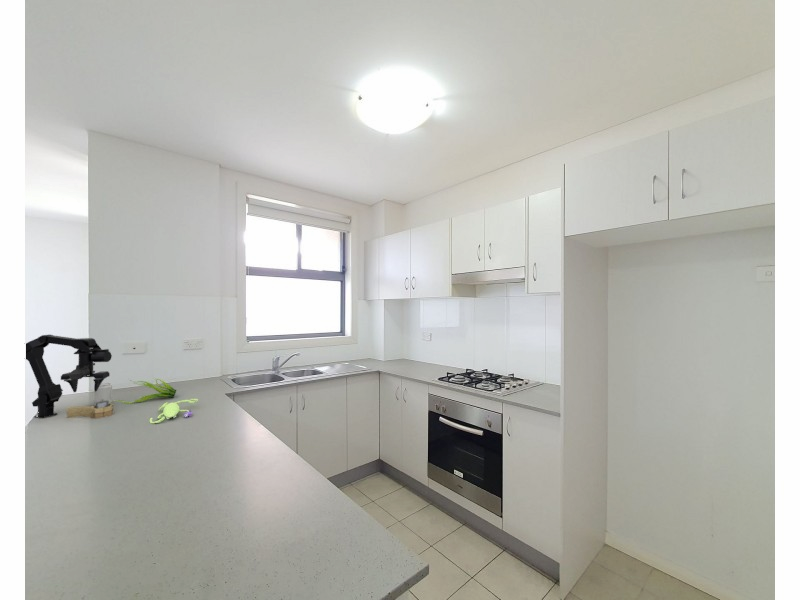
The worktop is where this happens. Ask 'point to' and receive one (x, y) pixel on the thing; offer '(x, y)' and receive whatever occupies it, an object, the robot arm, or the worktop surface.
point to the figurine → (173, 410)
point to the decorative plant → (162, 393)
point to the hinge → (91, 411)
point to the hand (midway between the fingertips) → (85, 391)
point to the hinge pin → (102, 404)
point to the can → (103, 393)
